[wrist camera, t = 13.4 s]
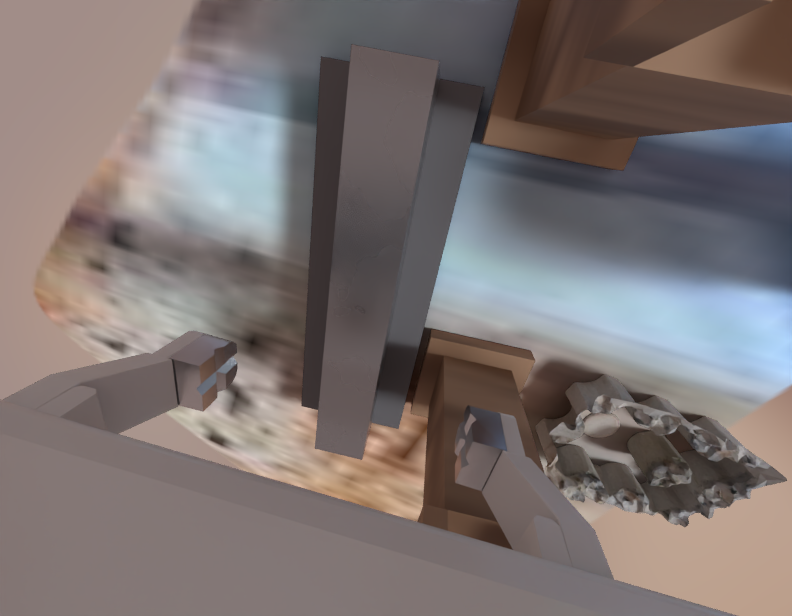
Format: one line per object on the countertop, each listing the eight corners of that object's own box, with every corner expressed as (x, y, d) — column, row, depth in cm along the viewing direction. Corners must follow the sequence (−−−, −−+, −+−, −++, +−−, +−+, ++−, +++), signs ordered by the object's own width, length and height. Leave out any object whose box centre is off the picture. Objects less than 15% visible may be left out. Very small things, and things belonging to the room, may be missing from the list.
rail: (371, 422, 22) (362, 459, 19) (330, 413, 22) (315, 448, 20) (439, 80, 13) (439, 60, 10) (369, 66, 13) (351, 44, 11)
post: (498, 423, 21) (557, 709, 10) (411, 403, 22) (378, 662, 11) (531, 350, 19) (658, 633, 8) (431, 328, 19) (415, 571, 8)
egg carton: (517, 432, 22) (532, 487, 18) (592, 353, 19) (628, 401, 15) (647, 493, 23) (686, 558, 19) (742, 427, 19) (811, 490, 16)
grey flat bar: (399, 422, 23) (398, 428, 22) (304, 400, 23) (301, 405, 22) (482, 89, 14) (484, 87, 13) (325, 60, 14) (320, 56, 13)
